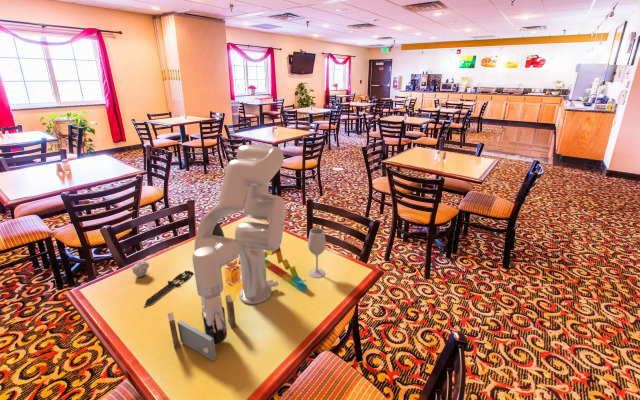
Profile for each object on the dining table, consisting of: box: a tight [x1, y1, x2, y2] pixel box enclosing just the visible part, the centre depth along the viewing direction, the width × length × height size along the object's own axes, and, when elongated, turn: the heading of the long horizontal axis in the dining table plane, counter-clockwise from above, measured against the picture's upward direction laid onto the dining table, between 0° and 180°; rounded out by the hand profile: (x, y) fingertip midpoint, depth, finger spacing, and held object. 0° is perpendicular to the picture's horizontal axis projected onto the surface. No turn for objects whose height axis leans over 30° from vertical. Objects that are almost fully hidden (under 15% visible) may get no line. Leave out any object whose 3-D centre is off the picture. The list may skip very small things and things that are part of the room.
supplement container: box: [201, 305, 228, 345], centre depth 103 cm, size 7×7×10 cm
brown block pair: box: [167, 294, 237, 350], centre depth 108 cm, size 20×4×11 cm, turn 120°
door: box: [176, 320, 217, 362], centre depth 100 cm, size 15×2×8 cm, turn 60°
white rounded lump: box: [131, 259, 150, 278], centre depth 140 cm, size 6×7×7 cm
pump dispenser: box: [212, 221, 226, 237], centre depth 162 cm, size 10×10×15 cm
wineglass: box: [307, 227, 327, 279], centre depth 140 cm, size 8×8×21 cm
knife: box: [143, 270, 194, 308], centre depth 133 cm, size 25×6×1 cm, turn 154°
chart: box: [264, 246, 308, 293], centre depth 140 cm, size 30×3×15 cm, turn 44°
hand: (216, 331), depth 104 cm, fingers closed on supplement container, 6 cm apart
